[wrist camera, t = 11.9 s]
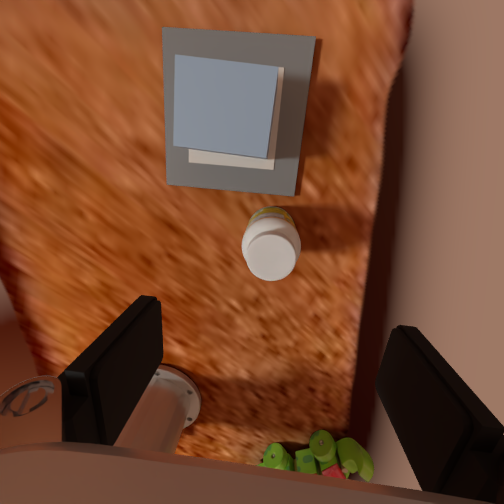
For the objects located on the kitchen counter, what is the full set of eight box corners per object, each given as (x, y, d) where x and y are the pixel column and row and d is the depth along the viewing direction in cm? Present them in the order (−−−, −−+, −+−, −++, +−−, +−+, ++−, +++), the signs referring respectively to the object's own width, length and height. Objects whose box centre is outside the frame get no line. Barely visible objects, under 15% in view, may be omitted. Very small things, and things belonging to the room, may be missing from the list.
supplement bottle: (248, 205, 28) (236, 224, 19) (296, 205, 28) (307, 225, 19) (248, 250, 30) (237, 287, 21) (293, 251, 29) (302, 289, 20)
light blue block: (267, 159, 26) (266, 158, 21) (191, 149, 26) (173, 145, 21) (277, 86, 23) (278, 66, 19) (194, 76, 24) (174, 54, 19)
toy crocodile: (259, 475, 43) (258, 522, 38) (241, 451, 42) (235, 496, 36) (370, 445, 39) (387, 494, 33) (354, 417, 37) (368, 463, 32)
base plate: (293, 195, 27) (294, 196, 27) (168, 184, 28) (166, 184, 27) (314, 39, 23) (316, 36, 22) (164, 30, 23) (161, 26, 23)
